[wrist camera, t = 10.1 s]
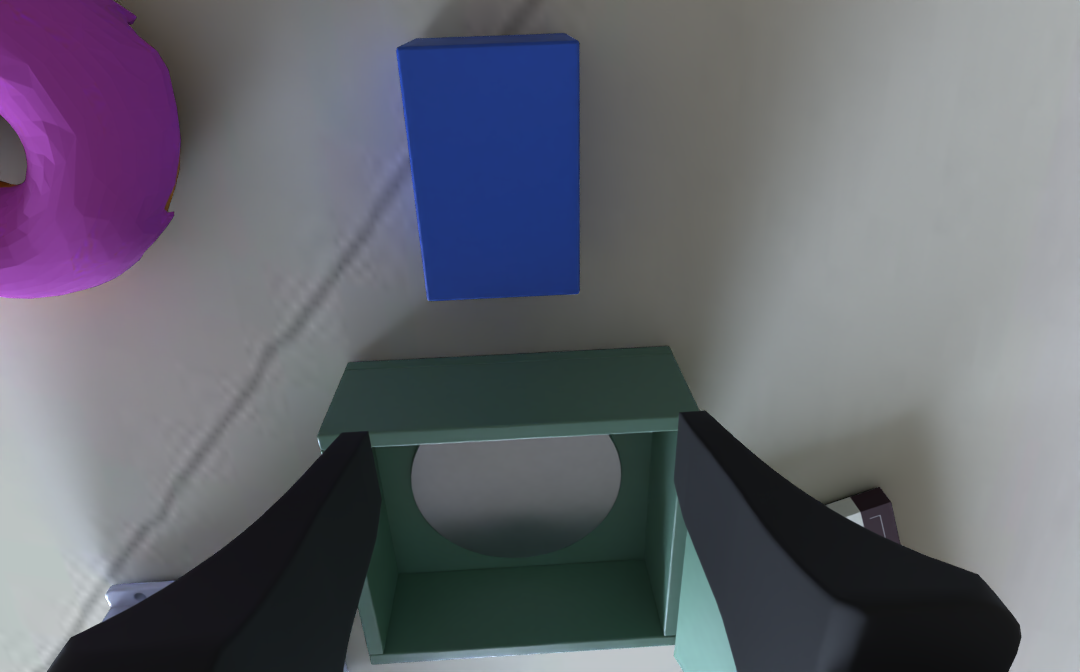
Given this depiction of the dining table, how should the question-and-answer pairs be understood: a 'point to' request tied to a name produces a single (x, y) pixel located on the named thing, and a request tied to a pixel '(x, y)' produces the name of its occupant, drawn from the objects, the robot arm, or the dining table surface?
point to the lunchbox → (531, 582)
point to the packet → (495, 163)
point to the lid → (700, 622)
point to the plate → (517, 491)
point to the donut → (82, 145)
